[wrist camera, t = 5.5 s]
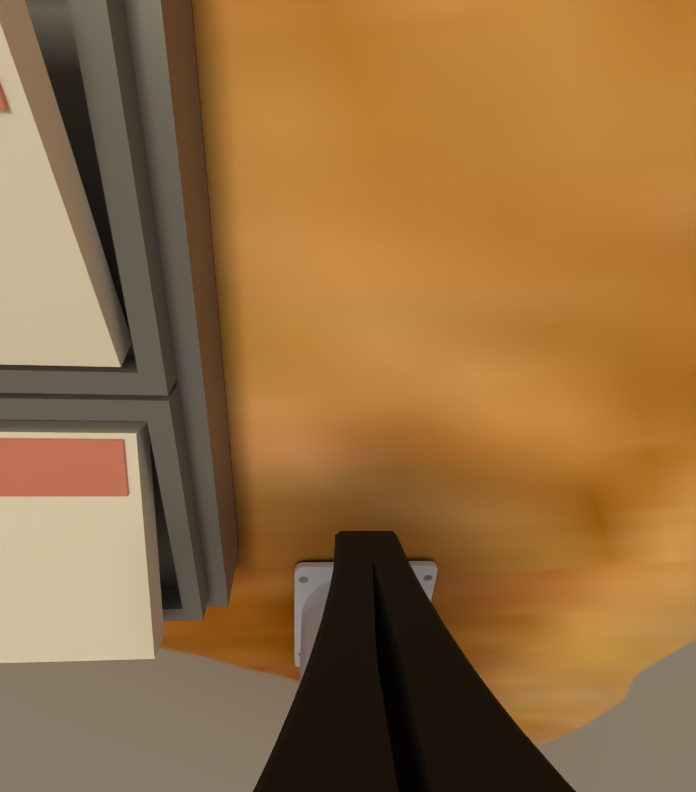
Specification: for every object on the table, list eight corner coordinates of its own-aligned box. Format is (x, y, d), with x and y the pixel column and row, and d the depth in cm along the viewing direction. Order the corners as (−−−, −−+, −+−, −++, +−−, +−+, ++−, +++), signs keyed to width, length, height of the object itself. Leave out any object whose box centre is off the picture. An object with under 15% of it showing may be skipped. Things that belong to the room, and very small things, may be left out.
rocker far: (164, 634, 19) (153, 661, 18) (6, 638, 18) (-17, 666, 17) (148, 422, 17) (134, 434, 15) (-33, 419, 16) (-63, 432, 15)
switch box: (238, 547, 25) (224, 629, 21) (43, 549, 24) (-11, 634, 20) (186, -60, 13) (129, -141, 9) (-205, -97, 12) (-459, -202, 8)
